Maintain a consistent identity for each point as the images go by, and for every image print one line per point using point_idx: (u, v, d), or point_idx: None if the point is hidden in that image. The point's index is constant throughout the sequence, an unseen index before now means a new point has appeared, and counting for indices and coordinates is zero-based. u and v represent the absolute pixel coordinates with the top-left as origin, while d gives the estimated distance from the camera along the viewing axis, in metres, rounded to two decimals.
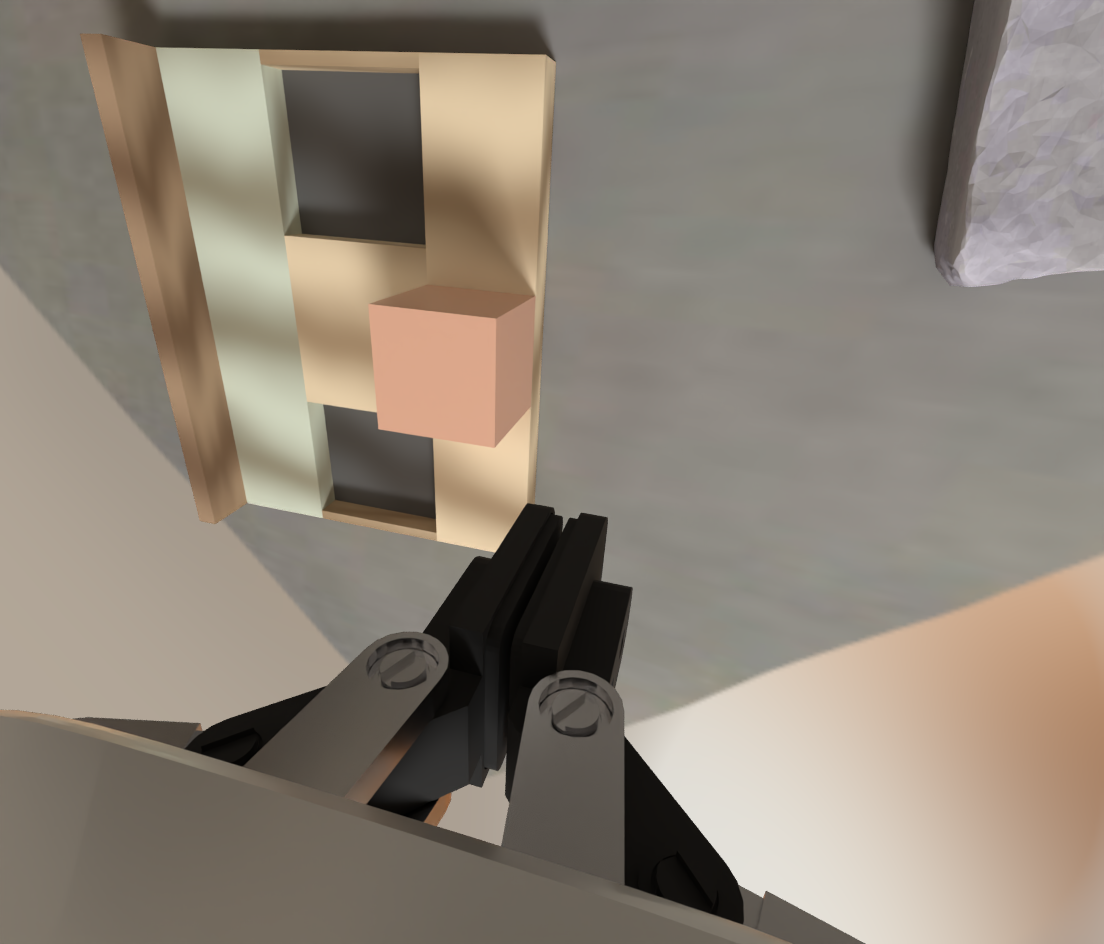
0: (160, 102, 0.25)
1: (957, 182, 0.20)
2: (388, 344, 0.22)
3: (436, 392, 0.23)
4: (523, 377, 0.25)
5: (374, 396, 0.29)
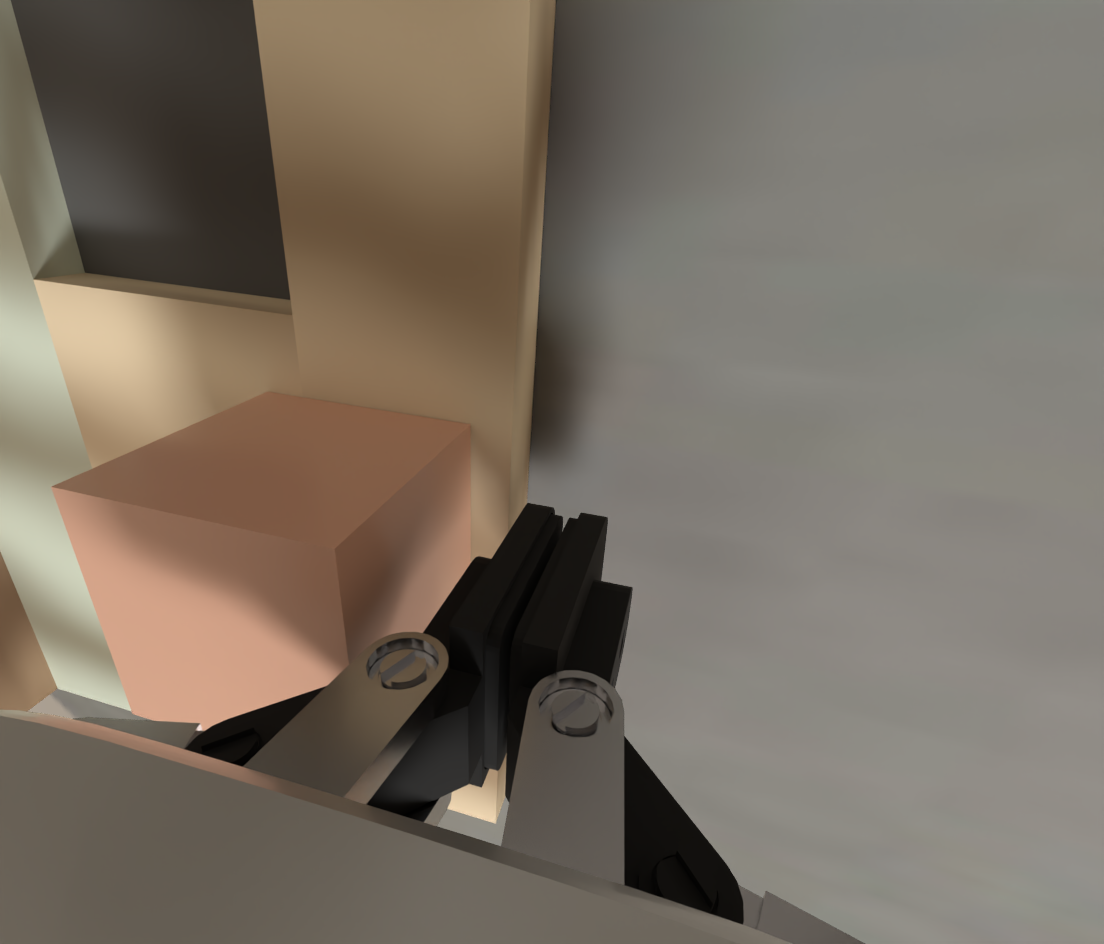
0: None
1: None
2: (112, 570, 0.10)
3: (229, 672, 0.10)
4: (446, 583, 0.13)
5: None
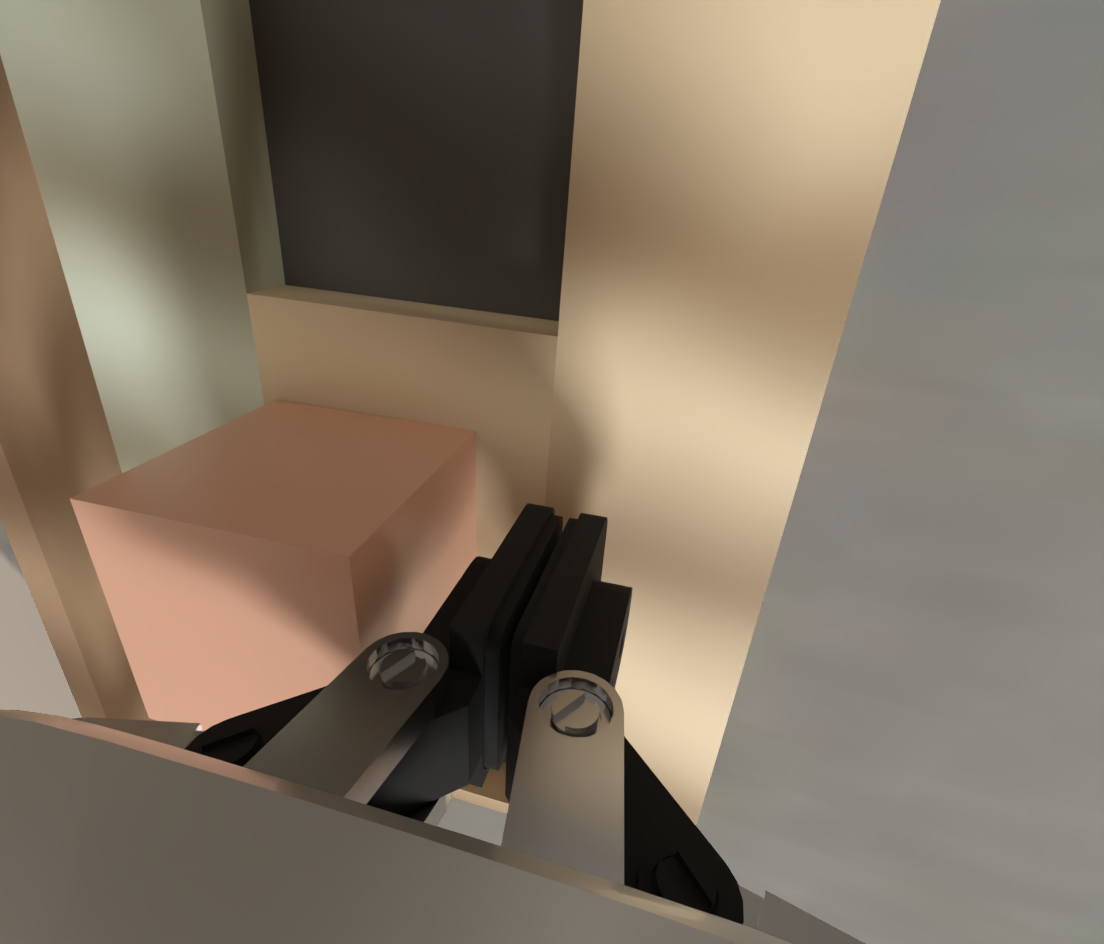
0: None
1: None
2: (130, 579, 0.10)
3: (244, 676, 0.10)
4: (453, 587, 0.13)
5: None
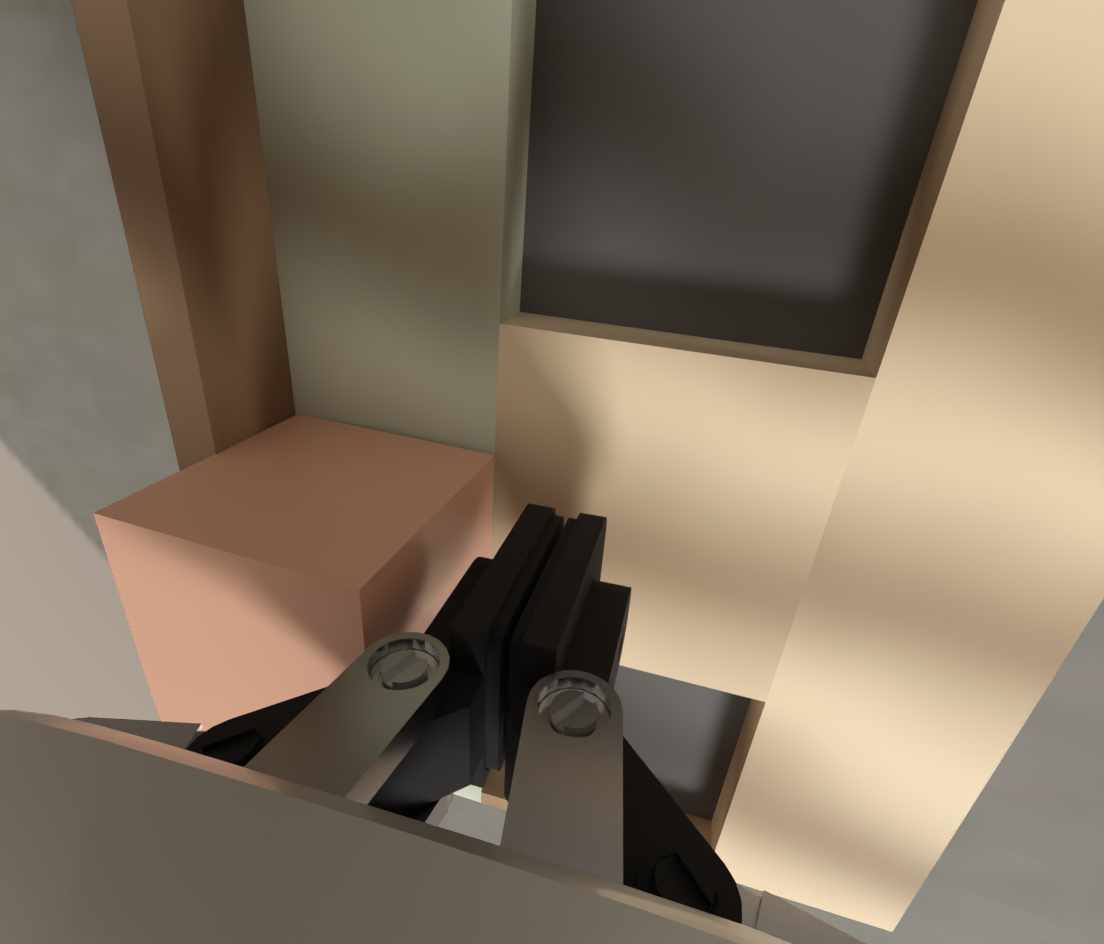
0: None
1: None
2: (148, 593, 0.10)
3: (254, 694, 0.10)
4: None
5: (642, 643, 0.14)
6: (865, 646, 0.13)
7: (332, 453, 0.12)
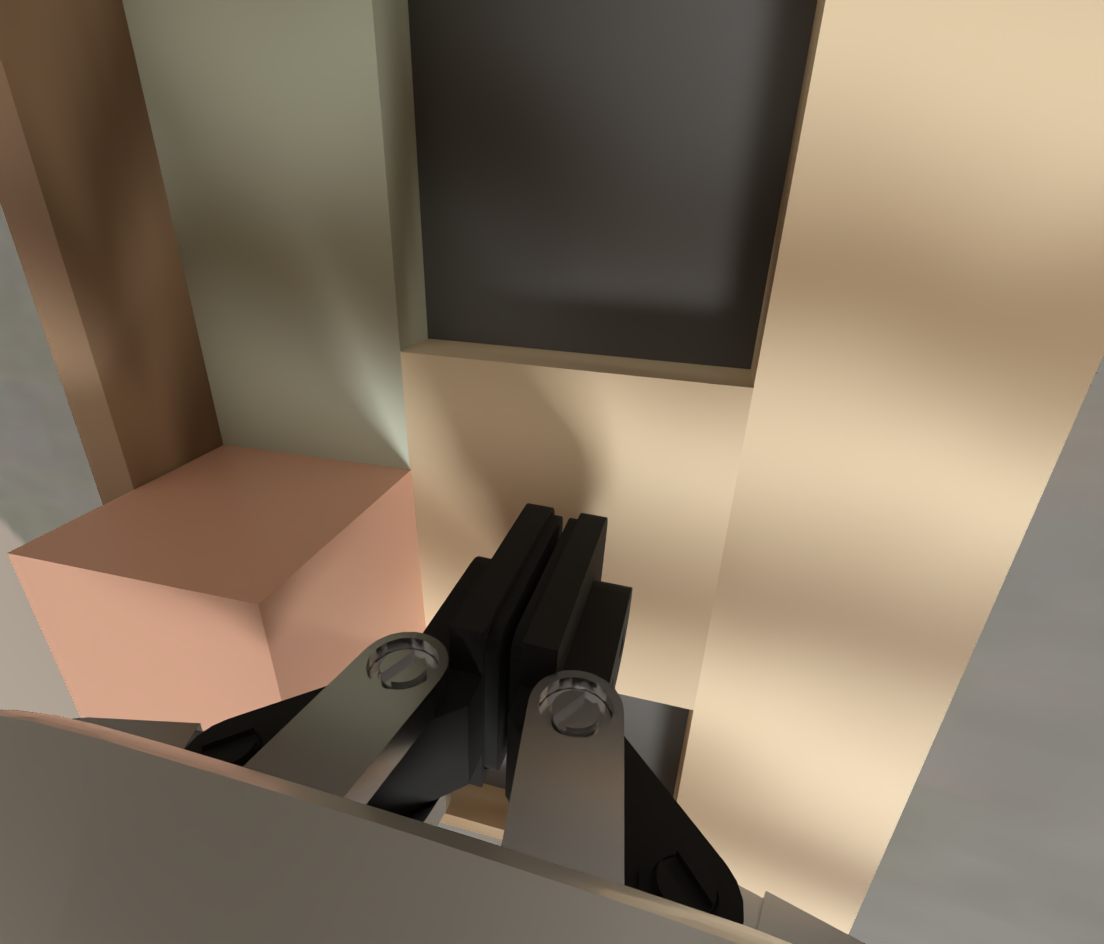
0: (120, 60, 0.11)
1: None
2: (68, 626, 0.11)
3: (179, 717, 0.11)
4: (395, 621, 0.14)
5: None
6: (780, 650, 0.13)
7: (252, 480, 0.13)
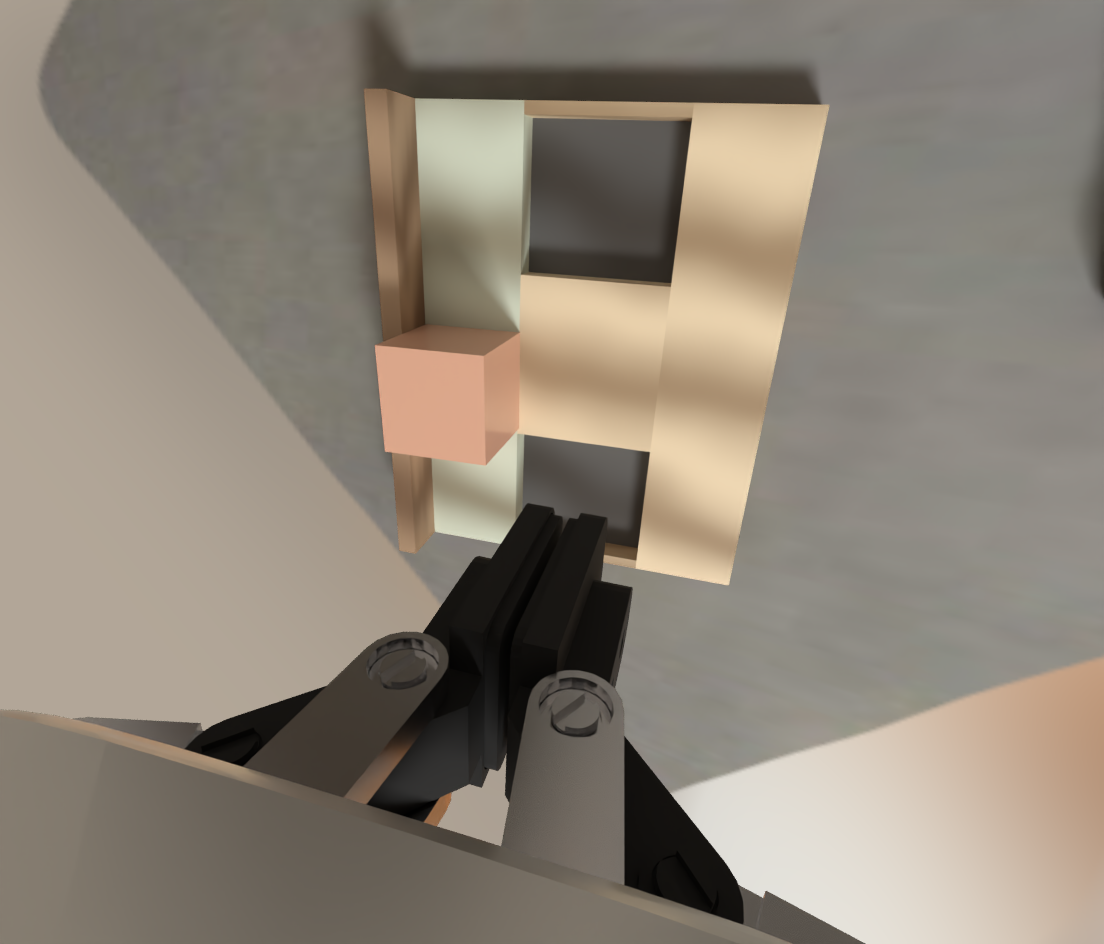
0: (414, 149, 0.26)
1: None
2: (392, 378, 0.26)
3: (434, 419, 0.26)
4: (511, 403, 0.29)
5: (591, 428, 0.30)
6: (687, 413, 0.28)
7: (450, 333, 0.28)
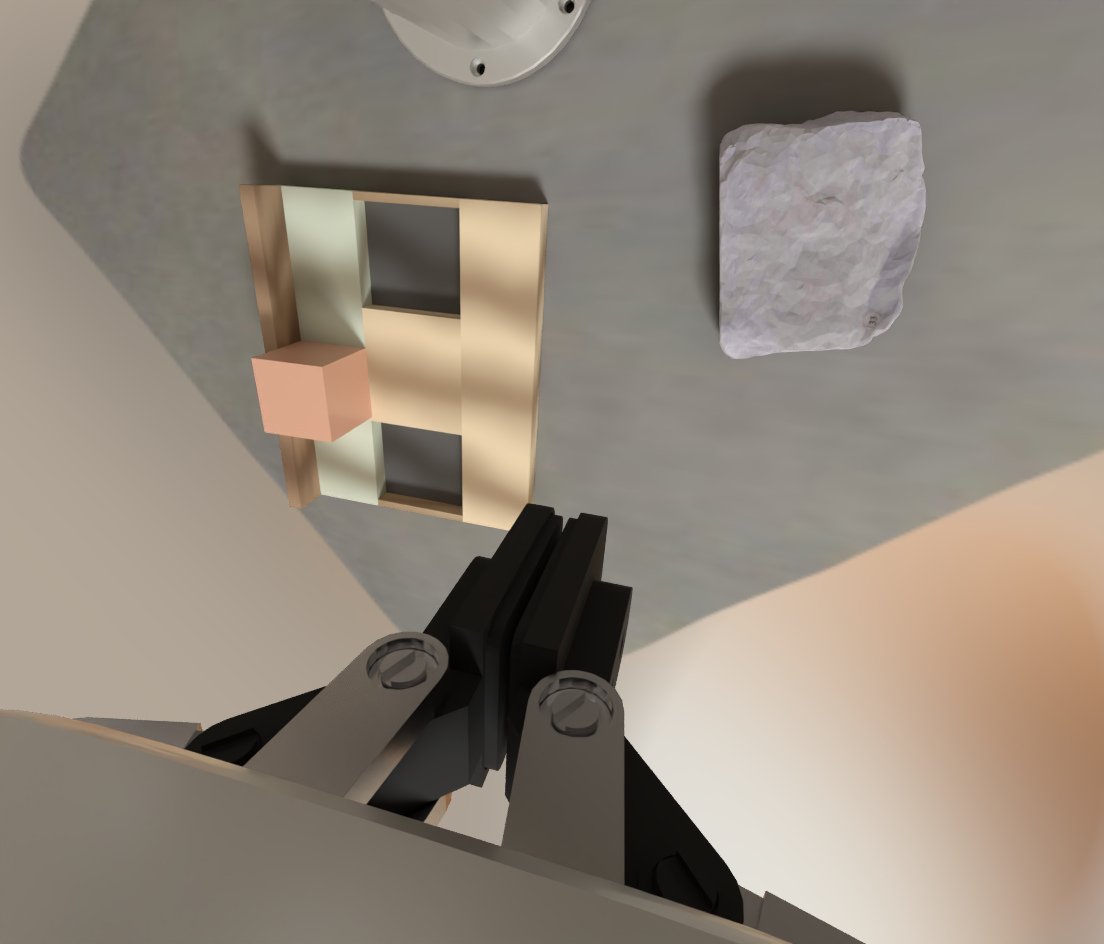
0: (281, 220, 0.38)
1: None
2: (265, 381, 0.37)
3: (295, 409, 0.38)
4: (359, 399, 0.41)
5: (420, 417, 0.41)
6: (482, 408, 0.40)
7: (313, 348, 0.40)
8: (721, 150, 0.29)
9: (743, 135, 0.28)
